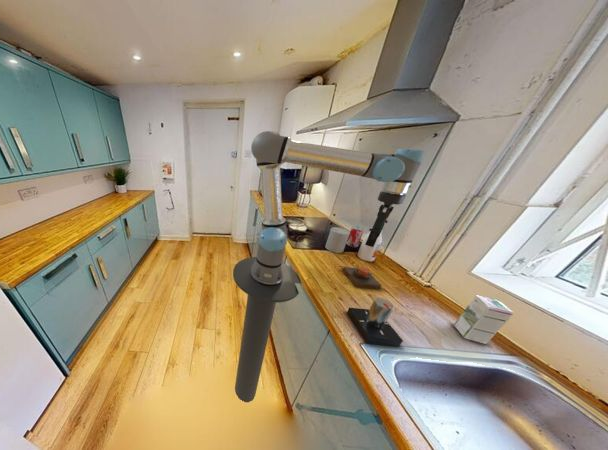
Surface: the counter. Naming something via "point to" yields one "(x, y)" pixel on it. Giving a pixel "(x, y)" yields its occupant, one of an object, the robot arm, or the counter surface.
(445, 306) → the counter surface
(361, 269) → the dispense button
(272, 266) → the robot arm
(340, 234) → the grey cylinder
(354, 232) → the soda can
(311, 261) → the counter surface
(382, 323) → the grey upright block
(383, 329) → the control panel
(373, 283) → the dark square plate
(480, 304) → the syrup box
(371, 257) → the milk bottle
